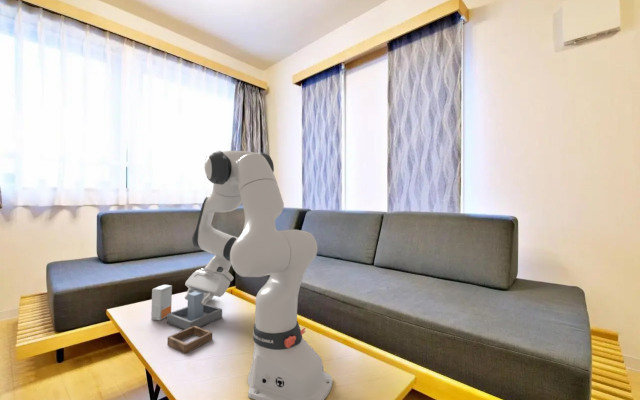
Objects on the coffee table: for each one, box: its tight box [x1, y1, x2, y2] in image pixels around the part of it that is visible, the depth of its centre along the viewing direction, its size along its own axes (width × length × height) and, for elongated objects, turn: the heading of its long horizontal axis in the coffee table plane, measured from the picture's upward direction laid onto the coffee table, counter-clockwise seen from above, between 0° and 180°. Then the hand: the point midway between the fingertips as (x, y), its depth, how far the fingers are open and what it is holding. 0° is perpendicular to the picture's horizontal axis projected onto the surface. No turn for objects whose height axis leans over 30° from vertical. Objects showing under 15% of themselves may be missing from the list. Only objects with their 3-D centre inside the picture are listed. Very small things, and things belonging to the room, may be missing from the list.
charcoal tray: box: [166, 303, 223, 331], centre depth 105 cm, size 14×14×4 cm
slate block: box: [187, 291, 204, 321], centre depth 105 cm, size 4×4×10 cm
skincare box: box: [150, 284, 173, 321], centre depth 107 cm, size 6×4×12 cm
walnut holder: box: [167, 325, 213, 354], centre depth 89 cm, size 10×10×2 cm
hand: (194, 301), depth 104 cm, fingers open, 8 cm apart
